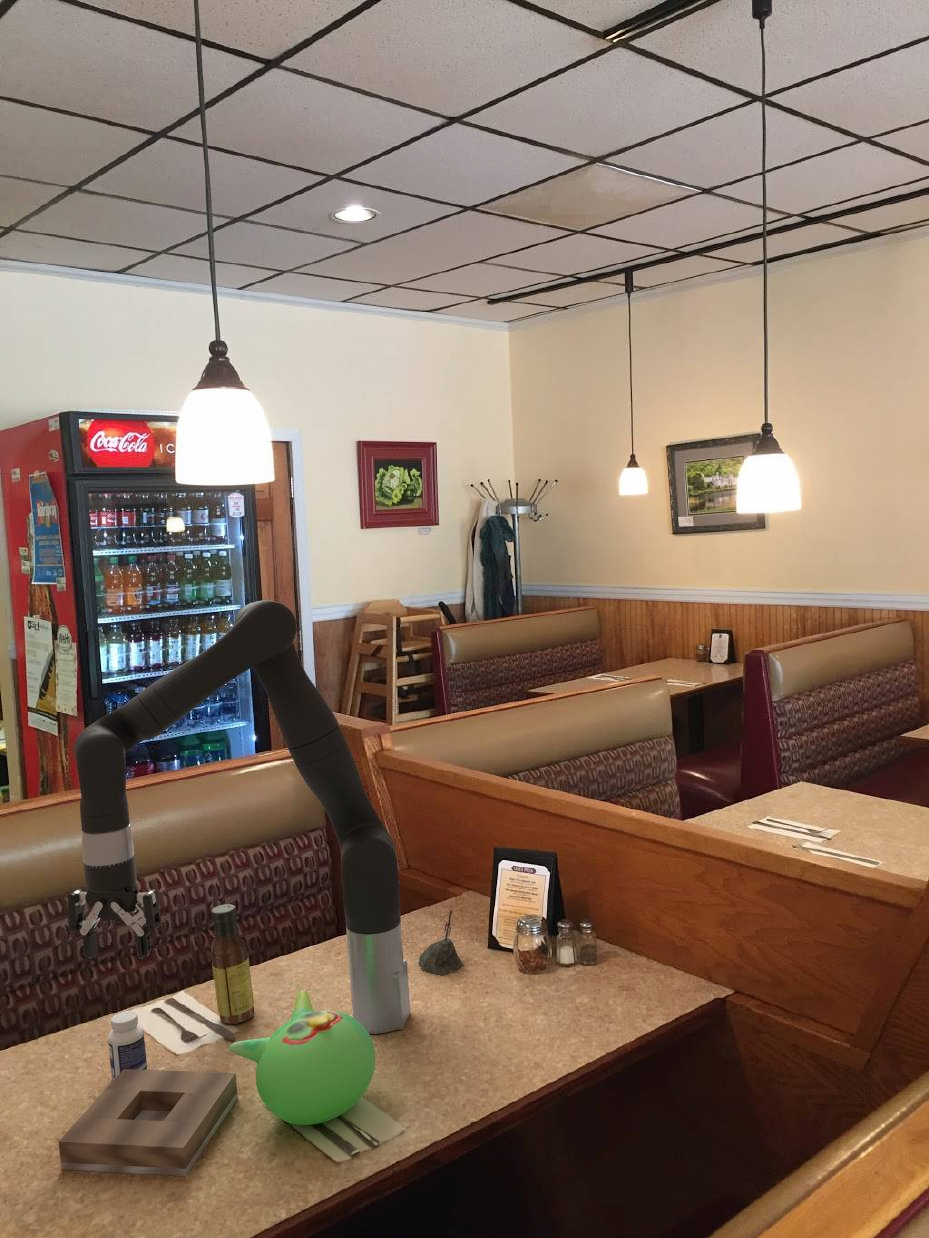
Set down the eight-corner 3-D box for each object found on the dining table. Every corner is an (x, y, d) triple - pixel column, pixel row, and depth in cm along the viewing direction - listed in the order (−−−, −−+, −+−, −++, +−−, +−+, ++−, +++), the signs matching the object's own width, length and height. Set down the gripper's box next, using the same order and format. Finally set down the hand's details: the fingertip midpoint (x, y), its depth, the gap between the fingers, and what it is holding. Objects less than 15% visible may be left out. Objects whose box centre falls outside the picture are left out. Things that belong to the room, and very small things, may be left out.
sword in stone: (407, 962, 196) (406, 901, 195) (442, 952, 201) (440, 892, 200) (436, 980, 188) (434, 917, 187) (471, 969, 192) (469, 907, 191)
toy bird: (321, 1161, 137) (313, 1057, 135) (230, 1127, 146) (221, 1029, 144) (399, 1092, 152) (393, 998, 150) (313, 1065, 161) (305, 976, 159)
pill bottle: (154, 1068, 163) (149, 1010, 162) (133, 1086, 158) (127, 1026, 157) (126, 1064, 165) (120, 1006, 164) (104, 1082, 160) (98, 1023, 159)
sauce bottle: (259, 1008, 181) (250, 900, 179) (248, 1026, 175) (239, 914, 173) (223, 1008, 182) (214, 901, 179) (211, 1026, 175) (201, 915, 173)
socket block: (237, 1098, 153) (235, 1072, 152) (186, 1176, 135) (183, 1147, 135) (126, 1093, 156) (123, 1068, 156) (61, 1169, 138) (58, 1141, 138)
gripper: (162, 847, 160) (171, 946, 162) (79, 847, 162) (88, 945, 164) (140, 864, 153) (149, 967, 154) (52, 863, 155) (63, 965, 157)
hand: (118, 956), depth 159 cm, fingers open, 8 cm apart
